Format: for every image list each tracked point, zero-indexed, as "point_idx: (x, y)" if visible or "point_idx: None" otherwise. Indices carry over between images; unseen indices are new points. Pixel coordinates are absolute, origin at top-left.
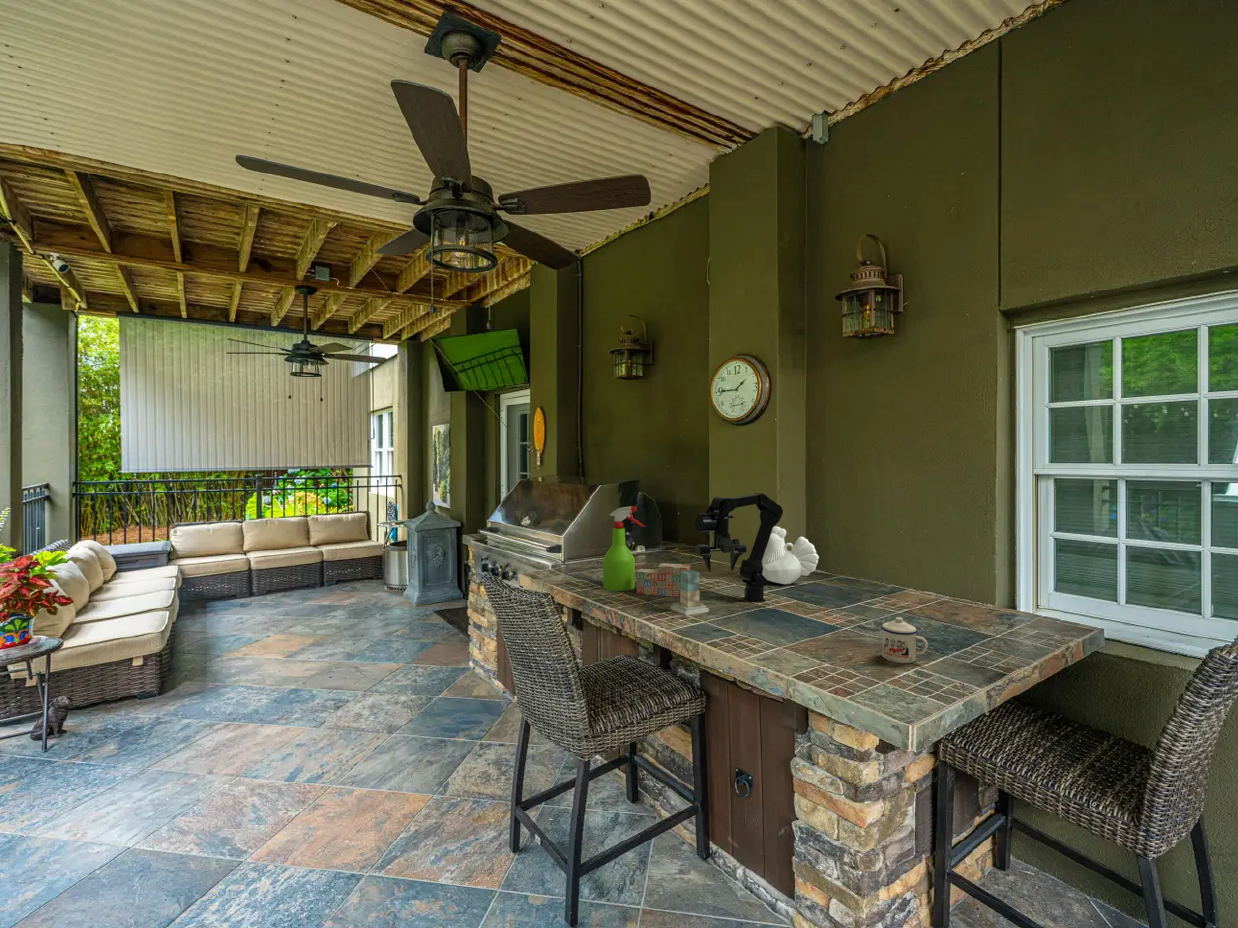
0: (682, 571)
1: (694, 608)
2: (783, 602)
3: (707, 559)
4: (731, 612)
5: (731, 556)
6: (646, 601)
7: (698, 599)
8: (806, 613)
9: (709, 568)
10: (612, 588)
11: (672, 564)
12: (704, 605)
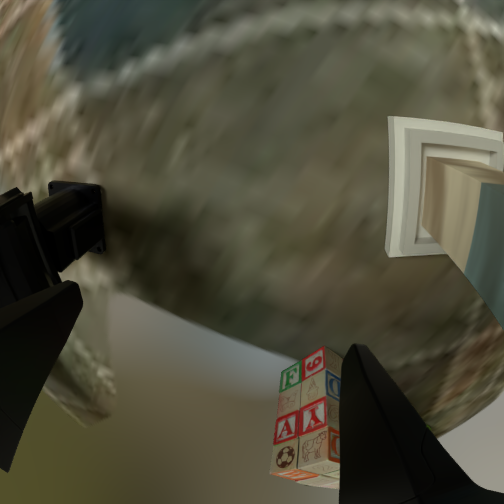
0: None
1: (469, 135)
2: (17, 151)
3: (460, 481)
4: (278, 51)
5: (5, 419)
6: (461, 346)
7: (452, 166)
8: (28, 15)
9: (382, 372)
10: (430, 429)
11: (333, 484)
12: (414, 137)
